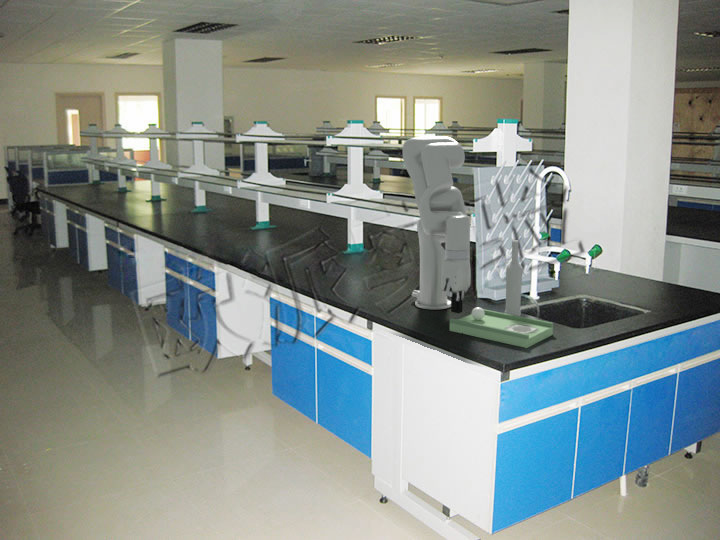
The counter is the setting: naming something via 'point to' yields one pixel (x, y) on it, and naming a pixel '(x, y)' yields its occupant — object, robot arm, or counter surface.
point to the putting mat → (504, 328)
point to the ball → (478, 313)
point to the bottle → (513, 283)
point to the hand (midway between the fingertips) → (456, 312)
